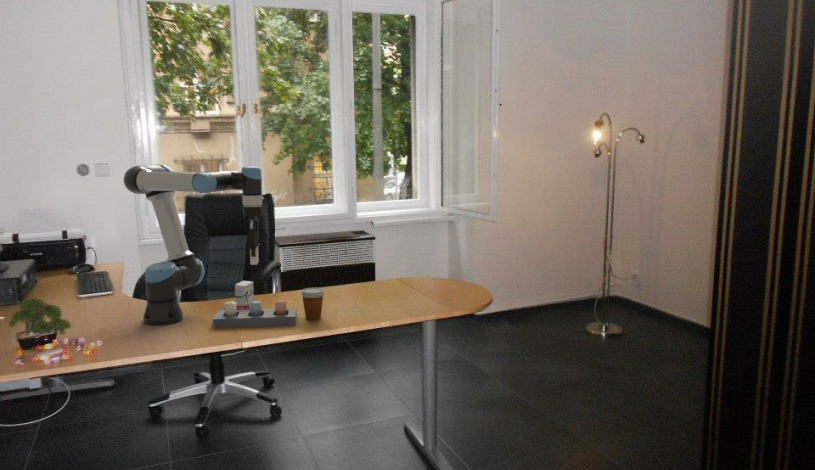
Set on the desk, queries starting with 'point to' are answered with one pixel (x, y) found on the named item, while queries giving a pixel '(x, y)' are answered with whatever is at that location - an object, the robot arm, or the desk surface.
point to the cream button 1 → (230, 309)
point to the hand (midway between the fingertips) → (254, 263)
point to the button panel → (255, 318)
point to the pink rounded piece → (280, 307)
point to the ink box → (244, 295)
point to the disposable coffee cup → (312, 302)
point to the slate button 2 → (256, 308)
